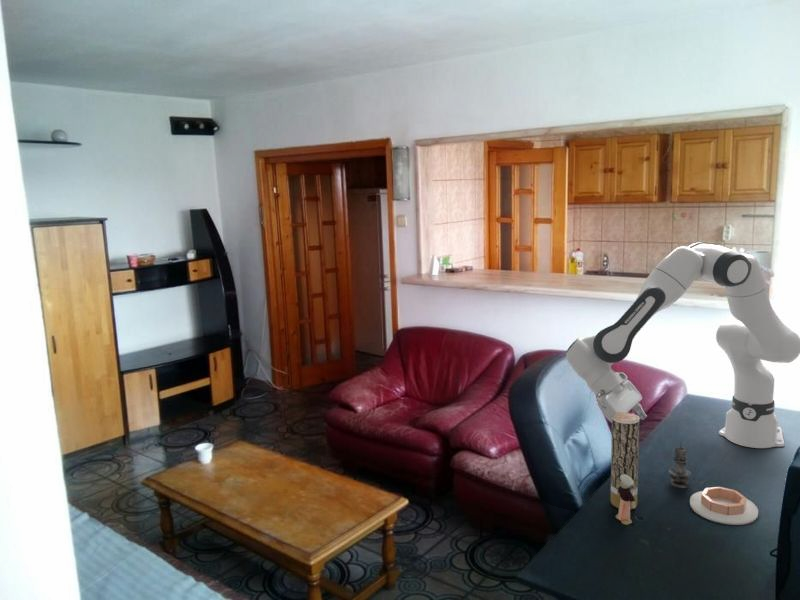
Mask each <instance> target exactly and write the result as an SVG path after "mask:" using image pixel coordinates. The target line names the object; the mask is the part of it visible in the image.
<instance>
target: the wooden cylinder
mask: <svg viewBox="0 0 800 600" xmlns="http://www.w3.org/2000/svg"><path fill="white" fill-rule="evenodd" d="M639 444H640V418H639V416H638V414H635V413H631V412H628V413H626V412H620V413H615V414H613V415H612V423H611V448H610V449H611V455H610V456H611V457H610V503H611V504H612V506H613V507H615V508H616V509H619V506H620V496H617V493H618V489H619V487H620V481H621V480H620V476H621V475H622V474H625V475H628V476H630V477H631V479H632V480H633V482H634V484H633V485H631V486H630V487H629V489H630V491H631V493H632V495H633V497H634V499H635V506H636V507H637V506H638V489H639V487H638V485H639V484H638V483H639V481H638V480H639V455H640V454H639V453H640V452H639V448H640V445H639ZM630 510H633V508H632V505H631V502H630Z"/></svg>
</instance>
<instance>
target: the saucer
mask: <svg viewBox="0 0 800 600" xmlns="http://www.w3.org/2000/svg"><path fill="white" fill-rule="evenodd" d="M689 506H690V508H691V509H692V511H693V512H695V514H697V516H698V515H699V516H700V517H702V518H705V519H707V520H709V521H711V522H715V523H719V524H722V525H723V524H724V525H732V526H742V525H748V524H752V523H754V522H755V521H756V520H757V519H758V517H759V509H758V507H757V505H755V503H754V502H752V500H750V499H748V498H747V497H746V496H744V495H743V494H742V493H740V492H739V491H738V490H736V489H731V488H727V487H722V486H712V487H710V486H709V487H705V488H704V489H703V490H701V491H700V490H699V491H697V492H695V493H693V494H691V496H690V499H689ZM756 518H757V519H756ZM754 520H755V521H754Z"/></svg>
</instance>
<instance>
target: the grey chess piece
mask: <svg viewBox="0 0 800 600" xmlns="http://www.w3.org/2000/svg"><path fill="white" fill-rule="evenodd" d="M673 462H674V464H673V467H671V468H669V469H668V473H669V476H670V478H671V479H670V480H669V482H668V483H669V484H671V486H672V487H675V488H677V487H678V488H679V489H686V488H687V489H688V488H689V487H690V483H689V481H688V480H690V477H691V475H692V472H691V471H690V470H688V469H687V463H688V459H687V450H686V448H685V447H684V446H683V445H682V444H679V446H677V447H675V449H674V457H673Z"/></svg>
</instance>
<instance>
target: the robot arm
mask: <svg viewBox="0 0 800 600" xmlns="http://www.w3.org/2000/svg"><path fill="white" fill-rule="evenodd" d="M698 279H701V280H702V281H706V282H709V283H712V284H716V285H719V286H722V287H724V289H725V293H726V297H727V303H728V307H729V308H728V309H729V311H730V313H731V314H732V316H733V317H734V318H735V320H734V319H733V320H725V321H724V322H722V323H721V324H720V325H719V326H718V328H717V330H716V333H715V334H716V335H715V338H716V339H715V340H716V343H717V344H718V346H719V347H720V348H721V349H722V350H723V351H724V353H725V354H726V356H727V357H728V359H729V361H730V363H731V366H732V369H733V374H734V375H733V377H734V389H733V390H734V391H733V396H732V399H731V407H732V408H730V409H729V410H728V411H727V412H726V415H725V425H724V427H723V428H721V429H720V430H719V432H718V434H719V435H720V436H722V437H725V438H726V439H727V440H728V441H730V442H732V443H734V444H735V445H738V446H741V447H747V448H752V449H754V448H755V449H769V448H770V449H771V448H773V447H774V448H775V447H776V448H777V447H778V448H780V447H781V448H782V447H784V446H785V441H784V436H783V430H782V428H781V427H780V426H778V425H779V420H778V419H777V416H776V413H775V406H776V405H775V400H774V393H775V392H774V391H775V377H774V375H773V374H772V373H771V372H770V371H769V369H767V368H766V367H765V366H764V365H763V363H762V360H763V361H765V362H766V361H767V362H769V363H778V364H780V363H781V364H783V363H784V364H785V363H786V364H789V363H792V362H794V361H795V360H796V359H797V358H798V357H799V355H800V336H799V335H798V334H797V333H796V332H795V331H793V330H792V329H790V328H789V327H788V326H786V324H785V323H784V322H783V320H781V319H780V318H779V316H778V315H777V313H776V312H775V310H774V308H773V307H772V304H771V300H770V296H769V293H768V288H767V283H766V280H765V276H764V273H763V270H762V267H761V265H760V263H759V261H758V259H757V258H756V257H755V256H753V255H752V254H749V253H741V252H739V251H736V250H733V249H730V248H727V247H726V246H722V245H717V244H710V243H708V242H702V241H701V242H694V243H691V244H689V245H688V246H683V245H682V246H678V247H676V248H675V249H674V250H672V251H671V252H670V253H669V254H667V255H666V256H665V257H664V258H663V259H662V260H661V261H660V262H659V263H658V264H657V265H656V266H655V267H654V268H653V269H652V271H651V272H650V273H649V275H648V276H647V277H646V279H645V281H644V282H643V283H642V286H641V288H640V290H639V293H638V295H637V297H636V299H635V300H634V301H633V303H632V304H631V305H630V306H629V308H628V309H626V311H625V312H624V313H623V315H622V316H621V317H620V318H619V319H618V320H617V321H616V322H615V323H613V324H611V325H609V326H607V327H604V328H603V329H601V330H599V331H598V333H597V334H596V335H592V336H588V337H587V336H586V337H578V338H576V340H574V341H573V342H572V343H571V344H570V345H569V347H568V348H567V350H566V352H565V360H566V361H567V363H568V364H569V365H570V368H571V369H572V370H573V371H574V372H575V373H576V374H577V376H578V377H579V378H581V379H582V380H583V381H584V382H585V383H586V387H587V388H588V389H589V390H590V391H591V392H592V393H593V394H594V396H595V398H596V402H597V406H598V408H599V409H600V411H601V413H602V414H603V415H604V416H605V418H606V419H607V420H608V422H610V423H611V424H612V415H613V414H615V413H620V412H626V413H630V411H631V410H633V411H635V412H636V415H637V416H639V420H640V421H643V420H645V419H646V418H647V417H648V415H647V414H646V413H645V411H644V409H643V407H642V405H641V404H640V401H642V400H643V397H642V394H641V392H640V391H639V389H637V387H636V386H635V385H634V384H633V382H631V381H630V379H629V380H628V376H627V375H626V374H625V373H624V372H617V371H614V370H613V369H612V368H611V367H612V365H613V364H615V363H619V362H621V361H623V360H624V359H625V358H626V357H628V355H629V353H630V351H631V349H632V344H633V341H634V339H635V338H636V335H638V333H639V332H640V330H642V328H644V326H645V325H646V324H647V323H648V322H649V320H651V318H653V316H655V315H656V314H657V313H658V312H661V311H663V310H665V309H669V307H671V306H672V305H673V304H675V302H677V301H678V300H680V298H681V297H682V296H683V295H684V294H685V293H686V292H687V291H688V290H689V289H690V287H691V286H692V285H693V283H694V281H696V280H698Z"/></svg>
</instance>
